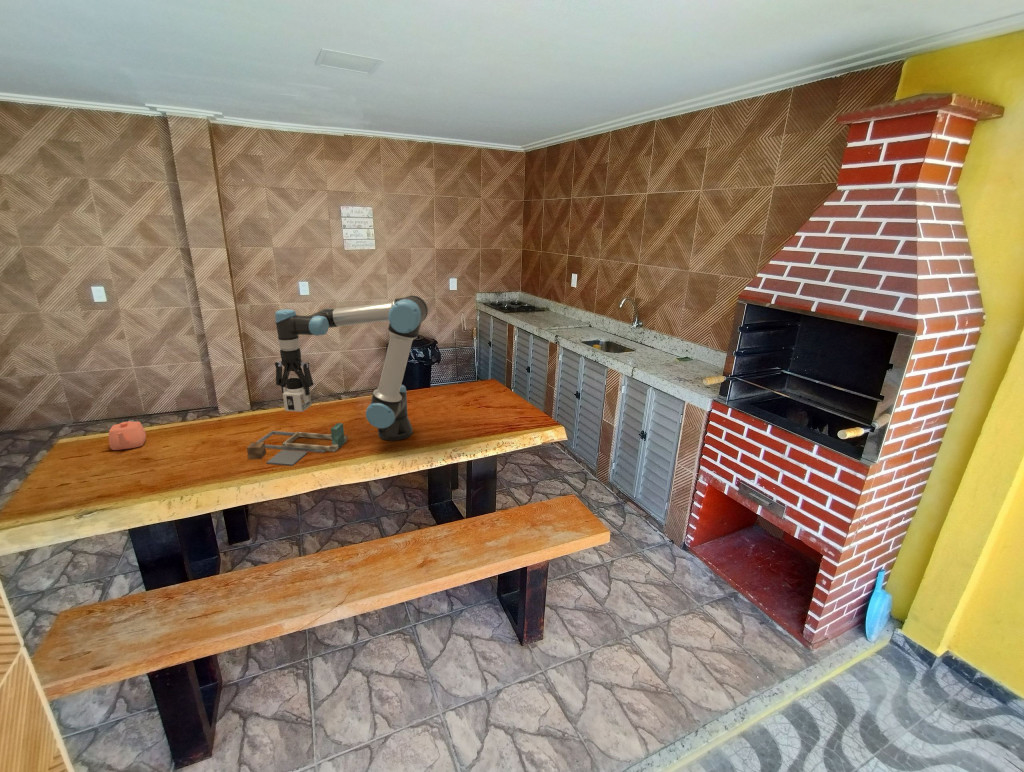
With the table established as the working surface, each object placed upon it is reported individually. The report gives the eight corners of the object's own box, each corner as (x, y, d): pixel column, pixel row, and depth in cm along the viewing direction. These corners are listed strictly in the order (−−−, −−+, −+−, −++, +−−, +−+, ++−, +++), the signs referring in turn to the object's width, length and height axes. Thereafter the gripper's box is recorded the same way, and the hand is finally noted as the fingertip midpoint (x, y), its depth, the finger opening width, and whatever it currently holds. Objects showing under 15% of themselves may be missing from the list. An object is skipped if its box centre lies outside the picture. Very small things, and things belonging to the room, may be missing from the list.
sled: (347, 439, 214) (346, 420, 211) (335, 451, 203) (333, 431, 200) (297, 436, 217) (295, 417, 214) (282, 447, 206) (279, 427, 203)
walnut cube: (266, 452, 202) (264, 441, 200) (261, 458, 197) (259, 447, 195) (253, 453, 201) (251, 442, 199) (248, 459, 196) (246, 447, 195)
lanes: (339, 438, 216) (339, 435, 215) (324, 452, 203) (323, 450, 202) (272, 433, 220) (272, 430, 219) (252, 446, 206) (252, 444, 206)
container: (302, 412, 202) (298, 382, 197) (284, 411, 203) (280, 381, 198) (312, 405, 209) (308, 376, 205) (294, 404, 210) (290, 375, 206)
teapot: (150, 435, 215) (144, 413, 212) (141, 452, 200) (135, 429, 196) (118, 440, 210) (111, 417, 207) (106, 458, 195) (99, 434, 192)
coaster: (307, 453, 202) (307, 451, 202) (292, 465, 192) (292, 464, 191) (282, 451, 203) (282, 449, 203) (266, 463, 193) (266, 462, 193)
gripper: (318, 347, 199) (324, 400, 207) (271, 345, 202) (279, 397, 209) (309, 352, 192) (315, 406, 200) (260, 349, 195) (268, 403, 202)
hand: (297, 401), depth 205 cm, fingers closed on container, 8 cm apart
